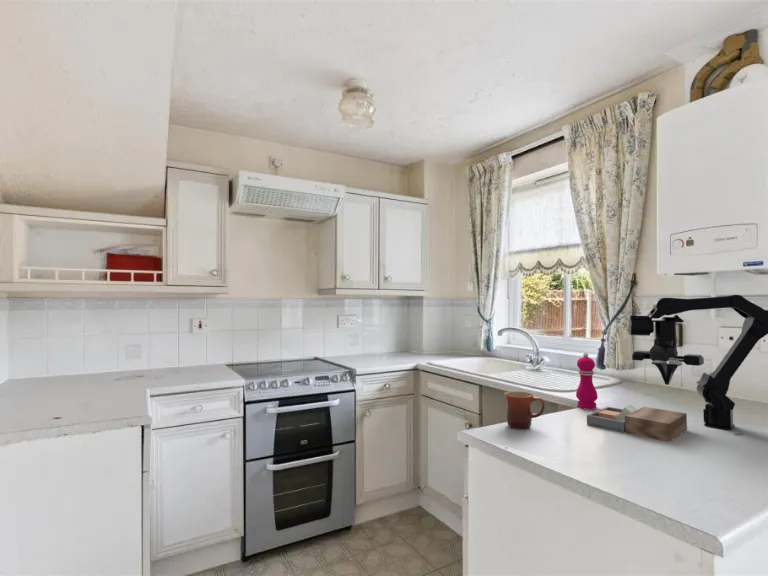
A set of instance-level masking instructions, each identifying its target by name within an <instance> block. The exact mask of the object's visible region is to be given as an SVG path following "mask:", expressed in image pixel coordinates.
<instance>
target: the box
mask: <svg viewBox="0 0 768 576" xmlns="http://www.w3.org/2000/svg"><path fill="white" fill-rule="evenodd" d="M623 409H624V408H618V407H611V406H605V407H602V408H600V409H597V410H596V411H593V412H590V413H588V414H586V425H587V426H591V425H592V426H593V427H595V428H596V427H597V428H602V429H606V430H611V431H616V432H620V433H625V420H623V421H618V420H613V419H608V418H603V417H598V412H601V411H603V410H609V411H614V412H620V413H621V411H622V410H623ZM592 426H591V427H592Z"/></svg>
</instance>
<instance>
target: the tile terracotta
mask: <svg viewBox="0 0 768 576" xmlns="http://www.w3.org/2000/svg"><path fill="white" fill-rule="evenodd" d="M619 414H620V412H614V411H609V410H603V411H601V412H598V417H603V418H608V419H613V420H616V418H617V417H618V415H619Z"/></svg>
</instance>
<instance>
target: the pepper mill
mask: <svg viewBox="0 0 768 576" xmlns="http://www.w3.org/2000/svg"><path fill="white" fill-rule="evenodd" d="M582 356H583V357H580V358H578V360H577V362H576V366H577V368H578V369H579V370H578V374H579V376H580V377H579V380H580V381H579V384H578V386H577V388H576V393H575V397H576V399H577V400H578V401H577V407H578V408H579V409H583V410H596V409H597V403H596V401H597V399H598V393H597V390H596V388H595V385H594V383H593V375H594V369H595V367H596V363H595V361H594V360H593V358H591V357H589V354H588V352H584V353H583V354H582ZM584 408H585V409H584Z"/></svg>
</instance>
